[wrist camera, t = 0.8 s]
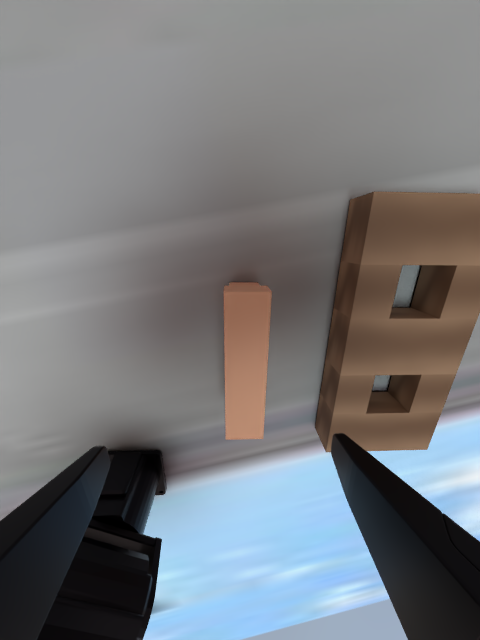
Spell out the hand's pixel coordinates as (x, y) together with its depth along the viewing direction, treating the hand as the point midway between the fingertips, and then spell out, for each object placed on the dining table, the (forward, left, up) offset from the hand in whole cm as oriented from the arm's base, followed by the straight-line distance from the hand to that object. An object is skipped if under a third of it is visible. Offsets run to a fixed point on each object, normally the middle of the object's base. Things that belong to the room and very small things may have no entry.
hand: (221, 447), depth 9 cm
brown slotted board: (0, -14, -12) cm, 19 cm away
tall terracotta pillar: (-1, -1, -12) cm, 12 cm away
